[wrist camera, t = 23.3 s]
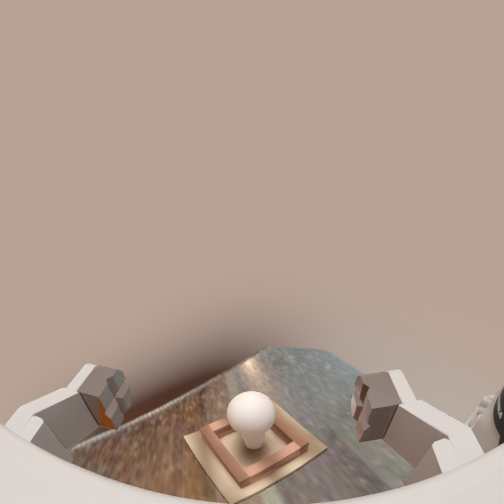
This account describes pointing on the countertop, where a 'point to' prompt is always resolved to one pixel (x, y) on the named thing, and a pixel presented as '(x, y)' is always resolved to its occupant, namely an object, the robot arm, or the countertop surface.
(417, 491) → the robot arm
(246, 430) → the lightbulb
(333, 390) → the countertop surface
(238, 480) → the socket block
